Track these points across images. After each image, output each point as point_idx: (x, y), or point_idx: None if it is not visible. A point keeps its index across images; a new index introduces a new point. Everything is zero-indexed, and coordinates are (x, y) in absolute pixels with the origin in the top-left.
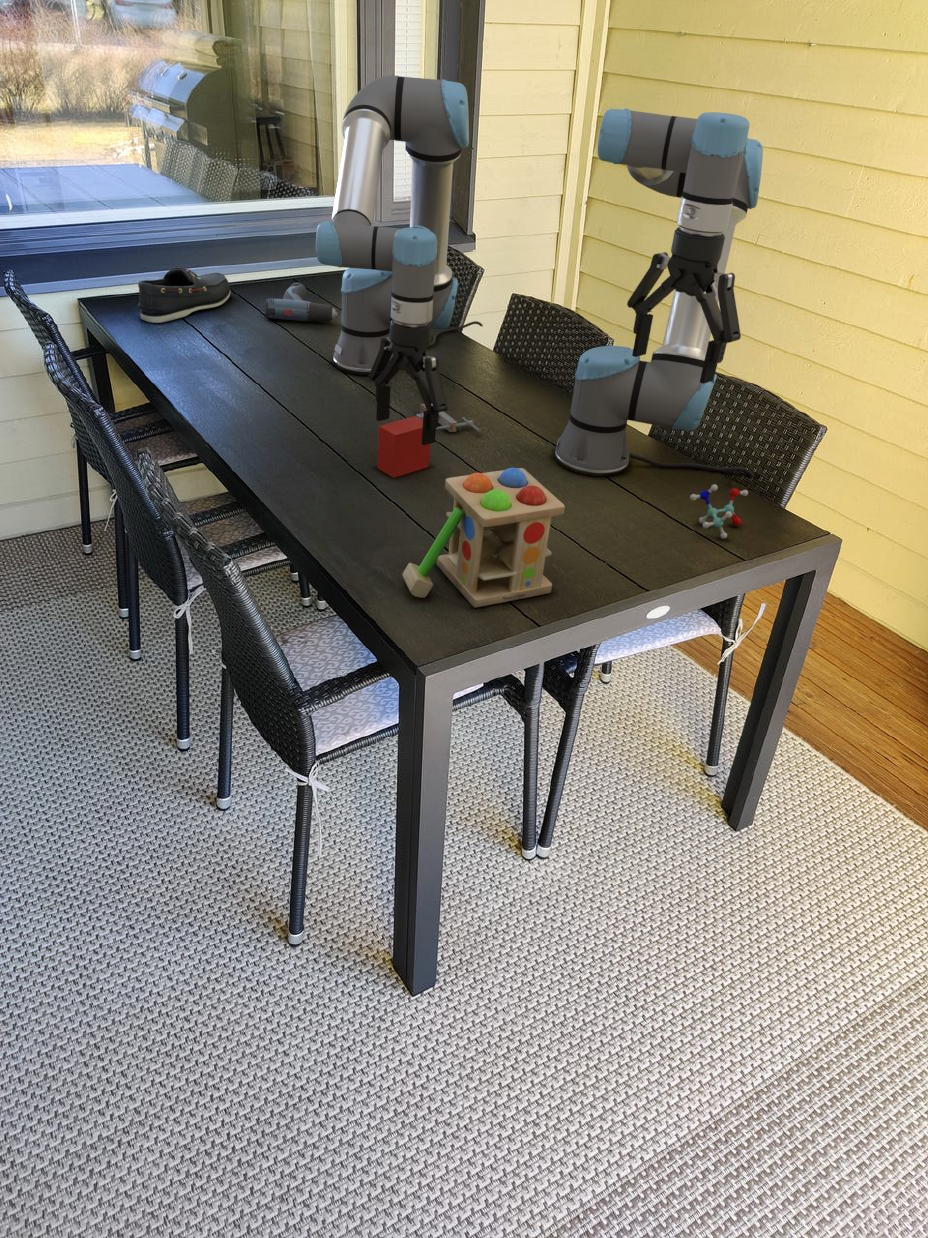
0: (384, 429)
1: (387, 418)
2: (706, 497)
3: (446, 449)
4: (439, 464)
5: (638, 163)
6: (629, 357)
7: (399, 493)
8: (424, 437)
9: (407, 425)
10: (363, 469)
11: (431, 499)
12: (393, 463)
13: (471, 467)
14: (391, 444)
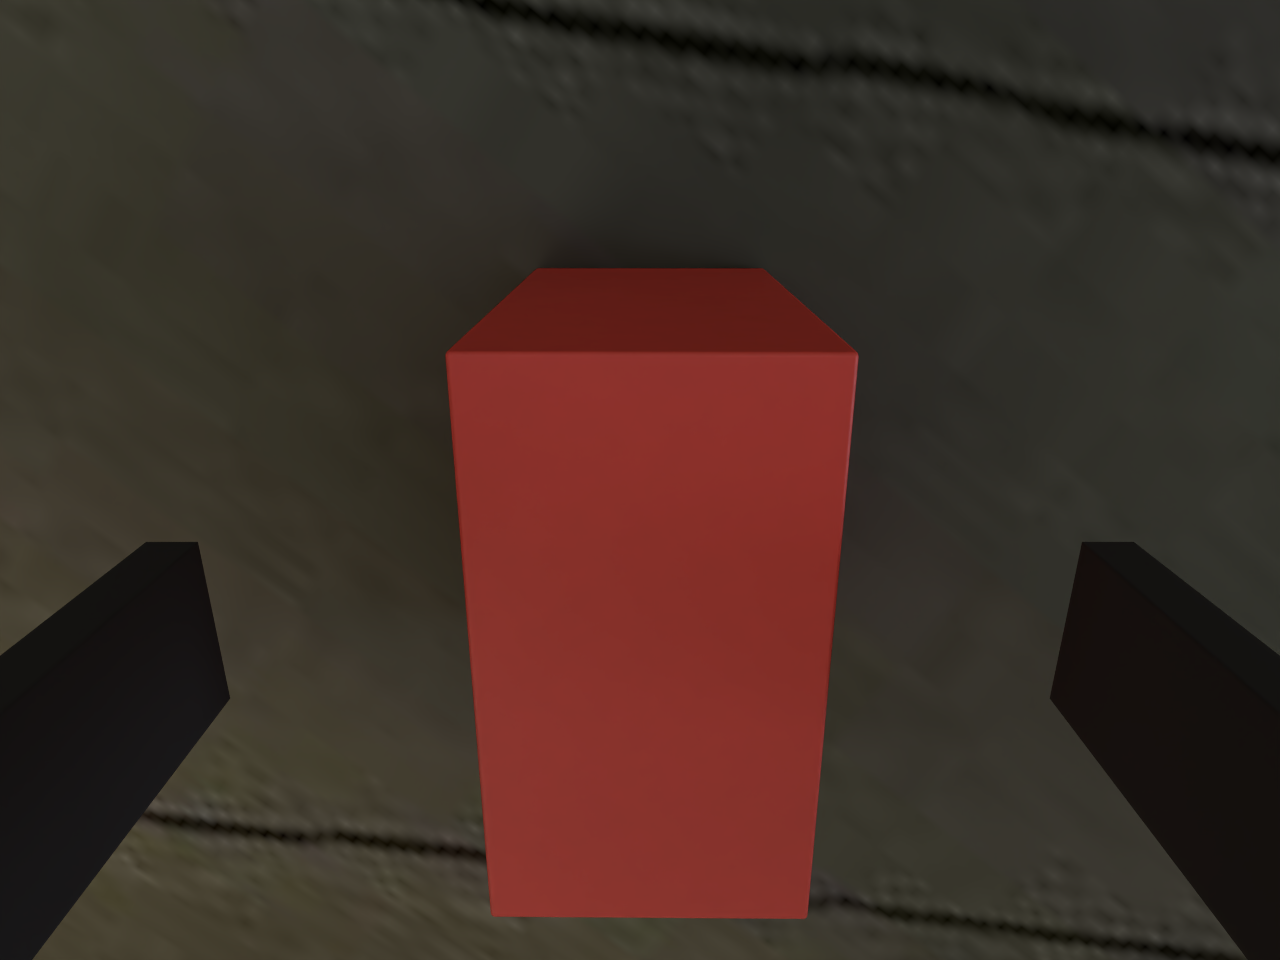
0: (716, 350)
1: (1057, 675)
2: None
3: None
4: None
5: None
6: None
7: (264, 114)
8: (84, 596)
9: (631, 689)
10: (824, 145)
11: (57, 283)
12: (528, 286)
13: (392, 841)
14: (549, 317)
